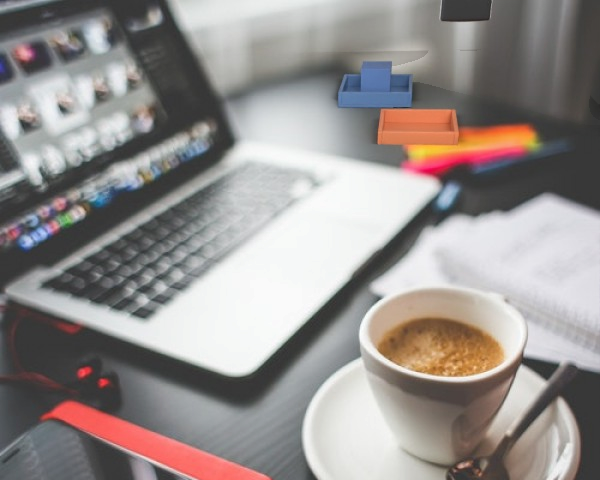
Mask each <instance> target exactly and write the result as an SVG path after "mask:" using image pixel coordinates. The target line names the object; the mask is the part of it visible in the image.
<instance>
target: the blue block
mask: <svg viewBox="0 0 600 480" xmlns="http://www.w3.org/2000/svg"><path fill="white" fill-rule="evenodd" d="M392 67H393V61H391V60H383V61H382V60H381V61H379V60H377V61H376V60H375V61H374V60H373V61H372V60H370V61H369V60H365V61H364V60H363V61H362V63H361V67H360V74H361V92H391V74H392V69H393V68H392Z"/></svg>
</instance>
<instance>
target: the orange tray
mask: <svg viewBox="0 0 600 480" xmlns="http://www.w3.org/2000/svg"><path fill="white" fill-rule="evenodd" d="M378 122H379V123H378V128H377V145H397V146H398V145H399V146H402V145H404V146H458V145H459V137H460V131H459V130H460V129H459V124H458V118H457V111H456V109H455V108H453V109H452V108H437V109H435V108H381V109H380V115H379V121H378Z"/></svg>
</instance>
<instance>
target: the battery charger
mask: <svg viewBox="0 0 600 480" xmlns="http://www.w3.org/2000/svg"><path fill="white" fill-rule="evenodd" d="M492 7H493V0H440V9H439V16H438V17H439V21H440V22H444V23H445V22H447V23H470V22H474V23H475V22H487V21H490V20H491V17H492Z"/></svg>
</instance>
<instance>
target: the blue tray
mask: <svg viewBox="0 0 600 480" xmlns="http://www.w3.org/2000/svg"><path fill="white" fill-rule="evenodd" d="M337 96H338V97H337V102H338V103H337V104H338V105H337V106H338V108H364V109H365V108H366V109H367V108H369V109H371V108H377V109H378V108H381V109H394V108H393V107H411V108H412V104H413V103H412V102H413V73H391V92H361V73H348V74H347V73H344V75H343V78H342V80H341V83H340V87H339V89H338V92H337Z"/></svg>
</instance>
